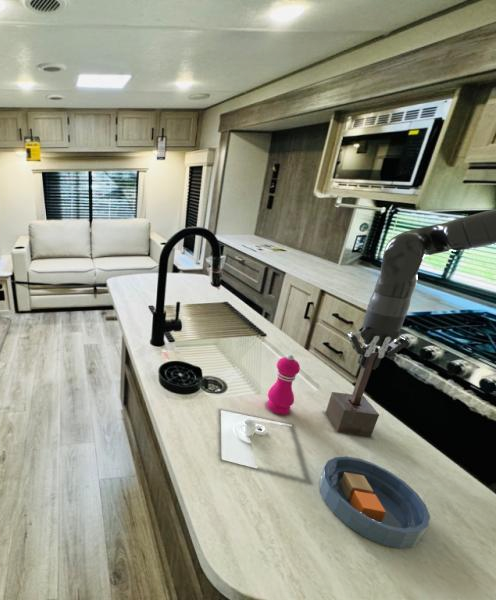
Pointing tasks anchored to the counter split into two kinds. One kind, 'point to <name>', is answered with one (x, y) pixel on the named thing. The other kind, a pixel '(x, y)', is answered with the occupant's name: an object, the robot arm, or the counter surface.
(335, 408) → the stick stand
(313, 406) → the counter surface
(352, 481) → the block
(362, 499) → the block
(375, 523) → the bowl
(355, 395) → the stir stick
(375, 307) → the robot arm
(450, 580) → the counter surface
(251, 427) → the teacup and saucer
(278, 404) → the pepper mill
